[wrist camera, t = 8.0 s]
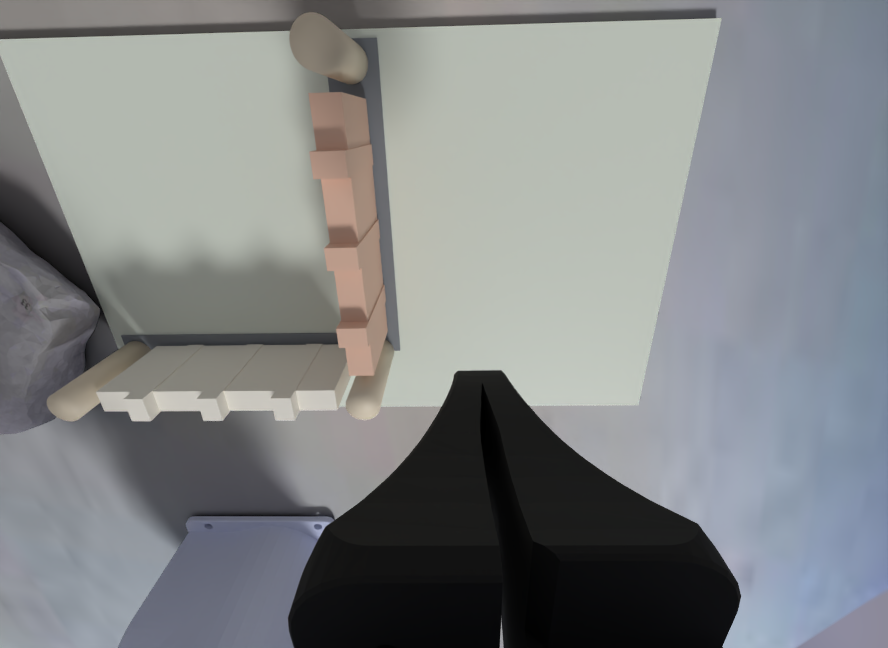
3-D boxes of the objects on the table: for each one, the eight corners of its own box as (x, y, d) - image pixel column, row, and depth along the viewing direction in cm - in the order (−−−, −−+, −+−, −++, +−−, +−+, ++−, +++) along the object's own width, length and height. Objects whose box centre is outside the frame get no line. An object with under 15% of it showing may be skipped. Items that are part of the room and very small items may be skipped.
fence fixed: (135, 360, 22) (50, 424, 18) (126, 337, 22) (36, 396, 17) (396, 358, 22) (380, 423, 17) (394, 334, 21) (377, 394, 17)
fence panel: (391, 331, 21) (376, 383, 16) (363, 331, 21) (340, 384, 16) (366, 39, 15) (334, 9, 11) (328, 41, 15) (282, 11, 11)
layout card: (145, 404, 24) (140, 408, 23) (1, 40, 16) (-9, 39, 16) (636, 401, 23) (639, 406, 22) (716, 20, 15) (723, 17, 15)
